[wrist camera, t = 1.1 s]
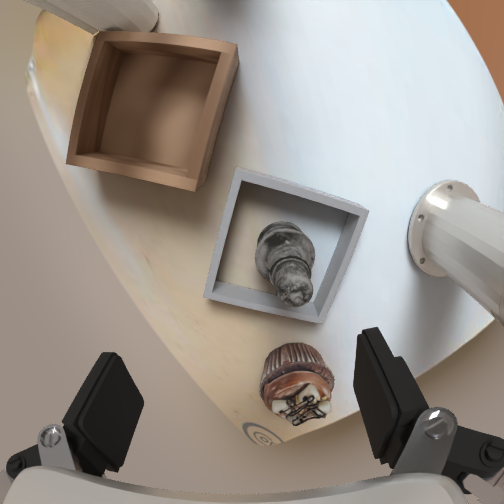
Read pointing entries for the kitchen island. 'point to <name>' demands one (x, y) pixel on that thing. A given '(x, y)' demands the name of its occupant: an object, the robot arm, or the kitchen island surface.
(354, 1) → the kitchen island surface
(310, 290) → the grey chess piece
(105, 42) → the walnut bin
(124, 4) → the paper towel roll
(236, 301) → the grey frame
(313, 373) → the cupcake
